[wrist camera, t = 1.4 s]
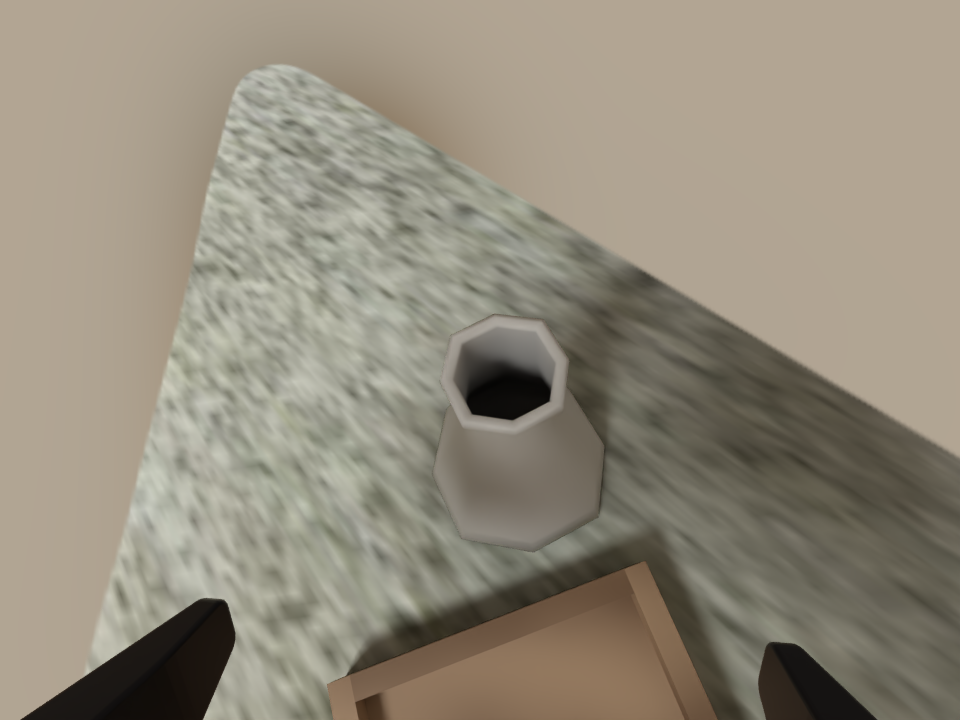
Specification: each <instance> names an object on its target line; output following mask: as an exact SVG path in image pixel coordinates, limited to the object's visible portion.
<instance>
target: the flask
mask: <svg viewBox="0 0 960 720" xmlns="http://www.w3.org/2000/svg"><path fill="white" fill-rule="evenodd" d="M568 368H569V358H568V357H567V355H566V354H565V352H564V350H563V349H562V347H561V346H560V344H559V343H558V341H557V340H556V338H555V336H554V335H553V333H552V332H551V330H550V329H549V327H548V325H547V324H546V322H545V321H544V319H536V318H527V317H518V316H509V315H501V314H493V315H491V316H489V317H487V318H485V319H483V320H481V321H479V322H477V323H475V324H473V325H471V326H469V327H466V328H464V329H462V330H460V331H458V332H456V333H454V334H452V335H450V339H449V344H448V348H447V352H446V357H445V361H444V366H443V370H442V374H441V379H440V383H441V386H442V388H443V390H444V391H445V393H446V395H447V397H448V399H449V401H450V403H451V405H450V406H449V407H448V408H447V409H446V413H445V417H444V422H443V426H442V431H441V436H440V440H439V445H438V449H437V454H436V458H435V463H434V468H433V472H432V475H433V477H434V479H435V482H436V484H437V486H438V488H439V490H440V493H441V495H442V497H443V499H444V501H445V504H446V506H447V508H448V510H449V512H450V515H451V517H452V519H453V521H454V523H455V526H456V528H457V530H458V532H459V534H460V537H461V539H466V540H471V541H476V542H481V543H487V544H492V545H497V546H503V547H508V548H513V549H519V550H524V551H529V552H535V551H537V550H539V549H541V548H543V547H544V546H546V545H548V544H550V543H552V542H554V541H555V540H557V539H559V538H561V537H563V536H565V535H566V534H568V533H570V532H572V531H574V530H576V529H577V528H579V527H581V526H583V525H585V524H587V523H589V522H590V521H592V520H594V519H596V518H598V514H599V503H600V492H601V481H602V470H603V460H604V449H605V446H604V444H603V443H602V441H601V439H600V438H599V436H598V435H597V433H596V431H595V430H594V428H593V426H592V425H591V423H590V422H589V420H588V418H587V417H586V415H585V414H584V412H583V410H582V409H581V407H580V406H579V404H578V402H577V401H576V399H575V398H574V396H573V394H572V393H571V391H570V389H568V388H567V387H566V384H567V376H568Z"/></svg>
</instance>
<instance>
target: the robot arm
mask: <svg viewBox="0 0 960 720" xmlns="http://www.w3.org/2000/svg"><path fill="white" fill-rule="evenodd" d="M234 644H235V629H234V625H233V622H232V618H231V614H230V611H229V607H228V604H227V602H226V601H225V600H222V599H213V598H203V599H200V600H198V601H196V602H195V603H193V604H192V605H190V606H189V607H187V608H186V609H184V610H183V611H181V612H180V613H178V614H177V615H175V616H174V617H172V618H171V619H169V620H168V621H166V622H165V623H163V624H162V625H160V626H159V627H157V628H156V629H154V630H153V631H151V632H150V633H148V634H147V635H146V636H144V637H143V638H141V639H140V640H138V641H137V642H135V643H134V644H132V645H131V646H129V647H128V648H126V649H125V650H123V651H122V652H120V653H119V654H117V655H116V656H114V657H113V658H111V659H110V660H108V661H107V662H105V663H104V664H102V665H101V666H99V667H98V668H96V669H95V670H94V671H92V672H91V673H89V674H88V675H86V676H85V677H83V678H82V679H80V680H79V681H77V682H76V683H75V684H73V685H71V686H70V687H68V688H67V689H65V690H64V691H62V692H61V693H59V694H58V695H56V696H55V697H54V698H52V699H51V700H49V701H47V702H46V703H45V704H43V705H42V706H40V707H39V708H37V709H36V710H34V711H33V712H31V713H30V714H28V715H27V716H25V717H24V718H22V719H21V720H203V718H204V716H205V714H206V711H207V709H208V707H209V704H210V702H211V699H212V697H213V695H214V692H215V690H216V688H217V685H218V683H219V681H220V678H221V676H222V674H223V671H224V669H225V666H226V664H227V662H228V659H229V657H230V655H231V652H232V650H233V647H234ZM758 686H759V694H760V698H761V702H762V705H763V709H764V713H765V717H766V720H877V719H876V718H875V717H874V716H873V715H872V714H871V713H870V712H869V711H868V710H867V709H866V708H865V707H864V706H862V705H861V704H860V703H859V702H858V701H857V700H856V699H855V698H854V697H853V696H852V695H851V694H850V693H849V692H848V691H847V690H846V689H845V688H844V687H842V686H841V685H840V684H839V683H838V682H837V681H836V680H835V679H834V678H833V677H832V676H831V675H830V674H829V673H828V672H827V671H826V670H825V669H824V668H822V667H821V666H820V665H819V664H818V663H817V662H816V661H815V660H814V659H813V658H812V657H811V656H810V655H809V654H808V653H807V652H806V651H805V650H803V649H802V648H801V647H800V646H798V645H796V644H792V643H781V642H770V643H769V644H768V645H767V646H766V649H765V653H764V657H763V661H762V665H761V670H760V674H759V679H758Z"/></svg>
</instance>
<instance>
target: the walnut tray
mask: <svg viewBox="0 0 960 720" xmlns="http://www.w3.org/2000/svg"><path fill="white" fill-rule="evenodd" d="M327 687H328V692H329V698H330V703H331V708H332V714H333V719H334V720H718V719H717V717H716V714H715V712H714V710H713V708H712V706H711V703H710V701H709V699H708V697H707V695H706V692H705V690H704V688H703V686H702V684H701V681H700V679H699V677H698V675H697V673H696V670H695V668H694V666H693V664H692V662H691V660H690V657H689V655H688V653H687V651H686V649H685V646H684V644H683V642H682V640H681V638H680V635H679V633H678V631H677V629H676V627H675V624H674V622H673V620H672V618H671V616H670V614H669V611H668V609H667V607H666V605H665V603H664V600H663V598H662V596H661V594H660V592H659V589H658V587H657V585H656V583H655V581H654V578H653V576H652V574H651V572H650V570H649V567H648V565H647V563H646V561H643V562H639V563H636V564H633V565H631V566H628V567H626V568H623V569H620V570H618V571H615V572H613V573H610V574H607V575H605V576H602V577H600V578H597V579H595V580H592V581H589V582H587V583H584V584H582V585H579V586H577V587H574V588H571V589H569V590H566V591H564V592H561V593H558V594H556V595H553V596H551V597H548V598H546V599H543V600H540V601H538V602H535V603H533V604H530V605H528V606H525V607H522V608H520V609H517V610H515V611H512V612H509V613H507V614H504V615H502V616H499V617H497V618H494V619H491V620H489V621H486V622H484V623H481V624H479V625H476V626H473V627H471V628H468V629H466V630H463V631H460V632H458V633H455V634H453V635H450V636H448V637H445V638H442V639H440V640H437V641H435V642H432V643H430V644H427V645H424V646H422V647H419V648H417V649H414V650H411V651H409V652H406V653H404V654H401V655H399V656H396V657H393V658H391V659H388V660H386V661H383V662H380V663H378V664H375V665H373V666H370V667H368V668H365V669H362V670H360V671H357V672H355V673H352V674H350V675H347V676H345V677H342V678H340V679H338V680H336V681H333V682H331V683H329V684H327Z"/></svg>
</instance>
